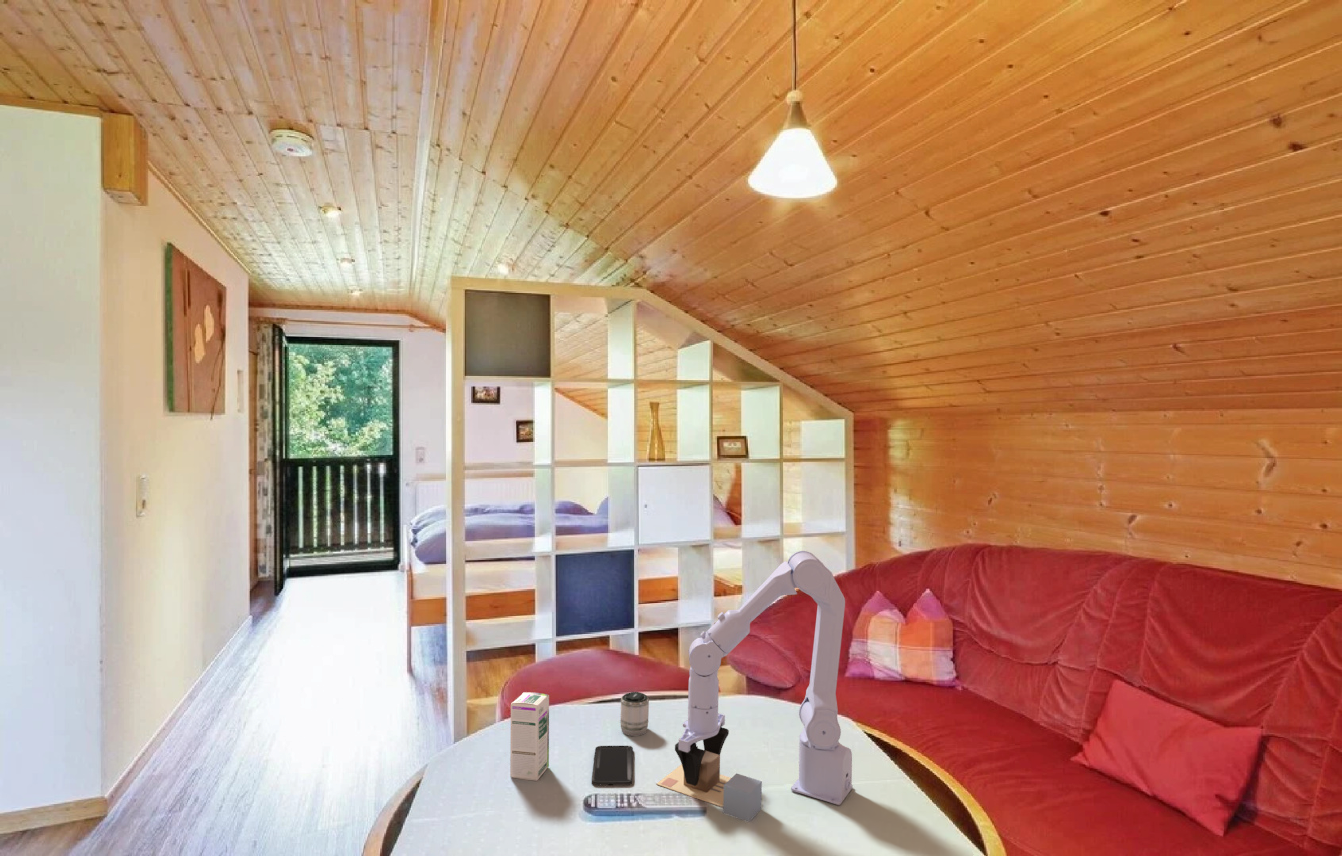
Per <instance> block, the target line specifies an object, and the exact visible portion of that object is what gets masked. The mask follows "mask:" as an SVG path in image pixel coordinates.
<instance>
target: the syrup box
mask: <svg viewBox="0 0 1342 856" xmlns="http://www.w3.org/2000/svg"><path fill="white" fill-rule="evenodd" d="M549 757H550V695H549V694H547V693H540V692H525V691H524V692H522V694H521V695H519V696H518V697H516V698H515V699H514V701H512V702H511V703H510V758H509V760H510V763H509V765H510V773H509V775H510V778H514V779H519V780H527V781H535V782H536V781H539V779H540V778H541V777H542V775H543V774H544V773H545V772H546V770H547V769H548V768H549V766H550V765H549V763H550V758H549Z"/></svg>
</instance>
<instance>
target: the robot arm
mask: <svg viewBox="0 0 1342 856" xmlns="http://www.w3.org/2000/svg"><path fill="white" fill-rule="evenodd" d="M797 588H798V589H799V590H800V591H801V592H802V593H805V594H806V595H808V596H810V597H811V598H812V599H813V601H814V602H815V603H816V604H817V610H816V620H815V629H814V638H813V647H812V657H811V665H810V666H811V667H810V676H809V685H808V686H807V688H806V690H805V697H804V699H803V701H802V703H801V704H800V706H799V710H798V716H799V719H800V721H801V723H802V726H803V728H802V731H801V733H800V734H799V740H798V741H799V746H798V747H799V748H798V750H799V754H798V756H799V757H798V760H799V761H798V779H797V780H796V781H795V782H794V783H793V784H792V786H791V787H790V790H791V791H792V792H794V793H799V794H802V795H805V796H808V797H810V798H811V797H812V798H815V799H818V800H820V801H824V802H828V803H831V804H834V805H836V806H840V805H841V804H842V803H843V802H844V800H845V799H846V797H847V796H848V795H849V793H850V792H851V790H852V789H853V786H854V785H853V784H852V782H853V781H852V780H853V779H852V777H853V774H852V773H853V753H852V749H851V748H849V747H847V746H845V745H843V744H841V742H839V740H840V739H841V734H842V730H841V726H840V723H839V721H838V714H839V713H838V711H839V710H838V702H837V701H838V700H837V694H836V692H837V686H838V685H837V684H838V683H837V682H838V675H839V674H838V673H839V667H840V666H839V665H840V656H841V647H842V636H843V629H844V628H843V627H844V619H845V617H844V616H845V610H846V598H845V597H844V594H843V593H842V591H841V589H840V586H839V585H838V583H837V581H836V579H835V576H834V574H833V572H832V571H831V570H830V569H829V568H827V566H826V565H825V564H824V563H823V562H822V561H821V560H819V558H818V557H817V556H815V555H814V554H813V553H812V552H809V551H808V550H799V551H795V552H794V553H793V554H791V555H790V556H789V558H788V559H787V560H785V561H783V562H782V563H780V564H779V565H778V567H777V568H776V569H775V570H774V571H773V572H772V573H771V574H770V575H769V576H768V577H767V578H766V579H765V581H763V583H762V584H761V585H760V586H759V587H758V588H757V589H756V590H755V591H754V592H753V594H751V595H750V597H748V598H747V600H746V601H745V602H744V603H743V604H742V605H741V606H740V607H739V608H738V609H728V610H727V611H726V612H725V613H724V612H723V611H721V612H720V613H719V614H718V615H717V619H718V620H717V621H716V622H715V623H713V624H712V626H710V628H709V629H707V630H706V631H704V630H702V631H701V632H700V634H699V635H700V637H698V638H695V639H694V640H693V641H692V642H691V644H690V646H689V649H688V660H689V661H688V663H689V665H690V668H689V672H688V673H689V678H688V695H687V696H688V697H687V698H688V702H687V704H688V705H687V720H685V721H684V722H682V727H683V728H684V731H683V733H682V735H681V736H680V738H679V739H678V742H677V743H675V744H674V751H675V753H676V755H677V756H678V758H679V761H680V762H681V764H682V767H683V771H684V775H685V780H686V783H688V784H691V785H694V786H696V785H697V783H698V780H699V772H700V765H701V761H702V758H703V756H704V754H705V752H706V751H708V752H712V753H715V754H718V755H720V756H721V754H722V750H723V746H724V744H725V742H726V740H727V738H728V736H729V734H730V731H729V728H724V727H723V726H725V725H726V719H725V718H726V715H725V714H724V713H723V714H722V713H719V690H720V689H719V687H720V686H719V685H720V683H719V681H720V680H719V678H718V675H719V674H718V671H719V670H720V667H721V663H722V659H723V658H724V657H726V656H728V655H729V654H730V653H731V651H733V650H734V649H735V648H736V647H737V646H738V644H740V643H741V642H742V641H743V640H744V639H745V638H746V637H747V636H748V635H749V634H750V633H751V623H752V622H753V621H754V620H755V619H756V618H757V617H758V616H760V615H761V614H762V613H763V612H764V611H765V610H767V608H769V607H770V606H771V605H772V604H773V603H774V602H775V601H776V600H777V599H779V598H780V597H781V596H790V595H791V596H792V595H793V596H795V595H798V592H797V590H796V589H797ZM700 741H702V743H703V749H702V750H701V748H699V746H698V745H697V744H698V742H700Z"/></svg>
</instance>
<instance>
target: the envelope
mask: <svg viewBox="0 0 1342 856" xmlns="http://www.w3.org/2000/svg"><path fill="white" fill-rule="evenodd" d="M731 778H732V777H730V776H728V775H727V776H726V775H724V774H721V773H720V781H719V782H718V783H717V784H716V785H715V786H714V787H713V788H711V789H710V790H709V791H708V792H704V791H701V790H698V789H695V788H692V787H689V786H686V785H684V771H683V767H682V763H681V764H680V765H679V766H677V767H676V768H675V769H673V770H672V771H671V772H670V773H668V774H667V775H666V776H664V777H663V778H662V779H661V780H660V781H658V782H657V783H656V784H655V785H656V786H660V787H662V788H665V789H669V790H671V791H674V792H677V793H680V794H683V795H685V796H689V797H691V798H694V799H698V800H701V801H703V802H706V803H708V804H711V805H714V806H717V807H721V808H723V801H724V784H726V783H727V782H728V781H729V780H730V779H731Z"/></svg>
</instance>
